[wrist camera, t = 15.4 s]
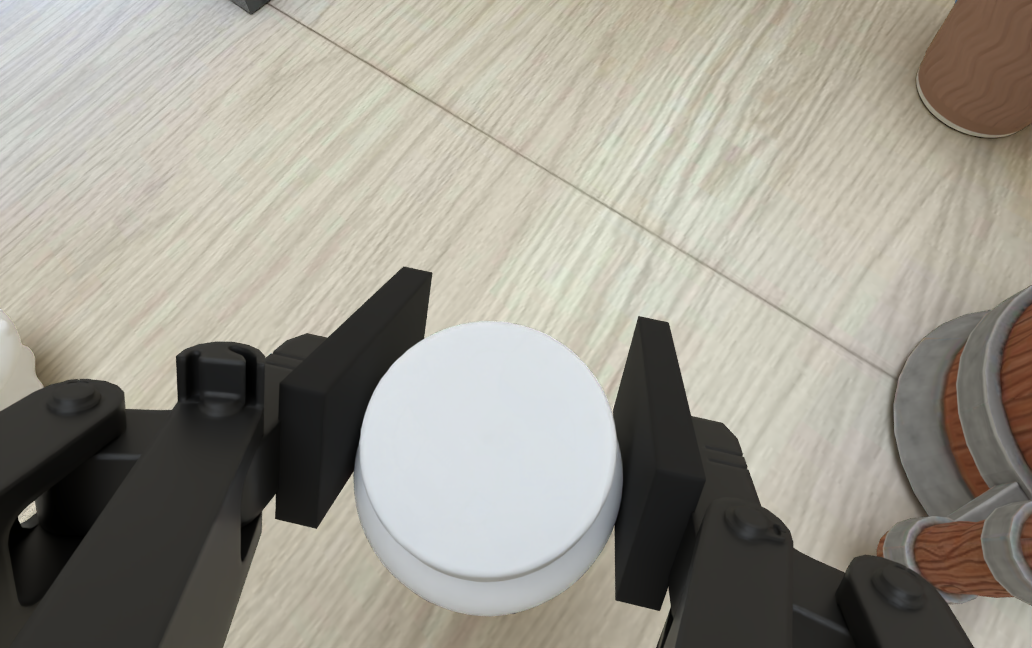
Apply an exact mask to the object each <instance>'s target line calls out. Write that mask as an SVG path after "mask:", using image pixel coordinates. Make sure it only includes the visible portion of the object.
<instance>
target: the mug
mask: <svg viewBox="0 0 1032 648" xmlns="http://www.w3.org/2000/svg"><path fill="white" fill-rule="evenodd" d="M894 433H895V437H896V441H897V446H898V450H899V455H900V459H901V463H902V465H903V468H904V470H905V472H906V475H907V477H908V480H909V482H910V484H911V487H912V489H913V491H914V493H915V495H916V497H917V498H918V500H919V501H920V503H921V505H922V506H923V508H924V509H925V511H926V512H927V514H928V516H929V517H921V518H913V519H908V520H905V521H902V522H899V523H896V524H895V525H894V526H893V528H892V529H891V530H890V531H888V532H886V533H885V535H884V536H883V537H882V538H881V539H880V541H879V544H878V547H877V556H879V557H883V558H886V559H889V560H892V561H894V562H898V563H900V564H902V565H904V566H907V568H910V569H912V570H913V571H915V572H916V573H918V574H919V575H920V576H921V577H923V578H924V579H925V580H926V581H928V582H929V583H930V584H931V585H933V586H934V587H935V588H936V590H937V591H938V592H939V593H940V595H941V596H942V597H943V598H944V599H945V601H946V602H947V604H962V603H964V602H967V601H970V600H973V599H976V598H977V596H985V597H994V598H999V597H1016V598H1018V599H1020V600H1022V601H1024V602H1026V603H1028V604H1030V605H1031V606H1032V285H1031V286H1029V287H1027V288H1026V289H1024V290H1022V291H1020V292H1018V293H1017V294H1015V295H1013V296H1011V297H1010V298H1008V299H1006V300H1004V301H1003V302H1002V303H1000V304H999V305H998V306H996V307H995V308H994V309H992V310H988V311H982V312H977V313H971V314H966V315H963V316H961V317H958V318H956V319H953V320H951V321H949V322H946V323H944V324H942V325H941V326H939V327H938V328H937V329H935V330H934V331H932V332H931V333H930V334H928V335H927V336H926V337H924V338H923V339H922V341H921V342H920V343H919V344H918V346H917V347H916V348H915V349H914V350H913V352H912V353H911V354H910V355H909V357H908V359H907V361H906V363H905V366H904V368H903V370H902V372H901V374H900V376H899V379H898V384H897V389H896V394H895V400H894Z"/></svg>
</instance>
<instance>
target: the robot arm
mask: <svg viewBox="0 0 1032 648" xmlns="http://www.w3.org/2000/svg"><path fill="white" fill-rule="evenodd" d="M431 279H432V272H427V271H422V270H418V269H413V268H408V267H402V268H401V269H400V270H399V271H398V272H397V273H396V274H395V275H394V276H393V277H392V278H391V279H390V280H389V281H388V282H387V283H385V284H384V285H383V286H382V287H381V288H380V289H379V290H378V291H377V292H376V293H375V294H374V295H373V296H372V297H371V298H369V299H368V300H367V301H366V302H365V303H364V304H363V305H362V306H361V307H360V308H359V309H358V310H357V311H356V312H355V313H354V314H352V315H351V316H350V317H349V318H348V319H347V320H346V321H345V322H344V323H343V324H342V325H341V326H340V327H339V328H338V329H336V330H335V331H334V332H333V333H332V334H331V335H330V336H329V337H328V338H326V337H322V336H317V335H313V334H308V333H306V334H304V335H301V336H298V337H295V338H292V339H290V340H287V341H285V342H284V343H283V344H282V345H281V346H279V347H278V348H277V349H276V350H275V351H273V354H270V355H269V356H267V357H266V358H265V356H264V355H263V353H262V352H261V351H260V350H259V349H256V348H254V347H252V346H249V345H246V344H241V343H236V342H211V343H204V344H198V345H195V346H193V347H190V348H187V349H185V350H183V351H182V352H181V353H179V354H178V355H177V356H176V367H177V391H178V402H177V404H176V405H175V406H174V408H173V409H172V410H138V409H125V397H124V392H123V391H122V390H121V389H120V388H119V387H118V386H117V385H115V384H112V383H109V382H106V381H100V380H91V379H80V380H78V379H74V380H67V381H64V382H61V383H56V384H52V385H49V386H46V387H44V388H42V389H39V390H37V391H35V392H33V393H31V394H29V395H28V396H26V397H24V398H22V399H21V400H19V401H17V402H15V403H14V404H12V405H10V406H9V407H7V408H5V409H3V410H2V411H0V648H223V646H224V643H225V640H226V637H227V634H228V631H229V628H230V625H231V622H232V619H233V616H234V613H235V610H236V607H237V604H238V601H239V598H240V595H241V592H242V589H243V586H244V583H245V580H246V577H247V574H248V571H249V568H250V565H251V562H252V559H253V556H254V553H255V550H256V547H257V544H258V542H259V539H260V536H261V533H262V510H263V509H264V508H265V507H266V505H267V504H268V503H269V502H270V500H271V499H272V498H273V497H274V495H275V494H276V511H275V519H278V520H282V521H286V522H291V523H295V524H299V525H303V526H307V527H311V528H316V529H317V527H318V526H319V524H320V523H321V521H322V520H323V518H324V517H325V515H326V513H327V512H328V510H329V509H330V507H331V506H332V504H333V503H334V501H335V499H336V498H337V496H338V495H339V493H340V492H341V490H342V489H343V487H344V485H345V484H346V482H347V481H348V479H349V478H350V476H351V474H352V473H353V471H354V467H355V458H356V452H357V448H358V444H359V440H360V436H361V428H362V424H363V420H364V416H365V413H366V410H367V406H368V404H369V401H370V399H371V397H372V395H373V392H374V390H375V389H376V387H377V385H378V383H379V382H380V380H381V378H382V377H383V376H384V375H385V374H386V372H387V371H388V370H389V368H390V367H391V366H392V364H393V363H394V362H395V361H396V360H397V359H398V358H400V357H401V356H402V355H403V354H404V353H405V352H406V351H407V350H408V349H410V348H411V347H413V346H414V345H416V344H417V343H418V342H420V341H422V340H423V339H424V334H425V326H426V319H427V311H428V303H429V295H430V287H431ZM613 419H614V423H615V429H616V436H617V439H618V443H619V447H620V452H621V457H622V464H623V488H622V498H621V503H620V508H619V512H618V515H617V519H616V522H615V600H616V601H620V602H625V603H629V604H633V605H637V606H641V607H645V608H650V609H654V610H658V611H660V609H661V606H662V603H663V601H664V598H665V595H666V592H667V589H668V586H669V595H670V603H671V608H670V611H669V614H668V617H667V619H666V622H665V625H664V628H663V630H662V633H661V636H660V639H659V641H658V644H657V647H656V648H974V647H973V645H972V643H971V642H970V640H969V638H968V637H967V635H966V633H965V632H964V630H963V628H962V627H961V625H960V624H959V622H958V620H957V619H956V617H955V615H954V614H953V612H952V610H951V609H950V607H949V605H948V604H947V602H946V601H945V599H944V598H943V597H942V596H941V595H940V593H939V592H938V591H937V590H936V588H935V587H934V586H933V585H931V584H930V583H929V582H928V581H926V580H925V579H924V578H923V577H921V576H920V575H919V574H918V573H916V572H915V571H913V570H912V569H910V568H907V566H904V565H902V564H900V563H898V562H894V561H892V560H889V559H886V558H883V557H879V556H871V555H863V556H859V557H855V558H854V559H853V560H852V562H851V563H850V565H849V566H848V568H847V570H846V572H845V573H844V572H842V571H840V570H838V569H835V568H833V567H831V566H829V565H826V564H824V563H822V562H819V561H817V560H815V559H813V558H811V557H809V556H807V555H805V554H803V553H801V552H799V551H798V550H796V549H795V548H793V540H792V536H791V533H790V531H789V529H788V528H787V527H786V526H785V524H784V523H783V522H782V521H781V520H780V519H779V518H778V517H776V516H775V515H774V514H772V513H771V512H770V511H769V510H767V509H765V508H763V507H761V504H760V501H759V498H758V496H757V493H756V490H755V487H754V484H753V481H752V479H751V476H750V473H749V470H747V464H746V461H745V459H744V457H742V456H743V453H742V450H741V447H740V444H739V442H738V439H737V438H736V437H735V435H734V434H733V433H732V432H731V431H730V430H729V429H728V428H727V427H726V426H725V425H724V424H723V423H721V422H716V421H711V420H707V419H702V418H698V417H693V416H691V414H690V409H689V405H688V401H687V397H686V393H685V389H684V384H683V380H682V376H681V372H680V368H679V364H678V359H677V355H676V351H675V347H674V343H673V338H672V334H671V330H670V326H669V323H668V322H664V321H659V320H654V319H650V318H645V317H640V316H638V320H637V324H636V327H635V331H634V335H633V338H632V342H631V346H630V350H629V353H628V357H627V361H626V364H625V368H624V372H623V376H622V379H621V383H620V387H619V390H618V394H617V398H616V402H615V405H614V409H613ZM33 501H35V504H36V510H37V513H36V514H34V515H33V516H32V517H31V518H29V519H28V520H27V521H25V522H23V523H21V524H20V522H19V521H18V516H19V514H20V513H21V512H22V511H23V510H24V509H25V508H26V507H27V506H28V505H29V504H31V503H32V502H33Z"/></svg>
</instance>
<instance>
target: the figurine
mask: <svg viewBox="0 0 1032 648" xmlns="http://www.w3.org/2000/svg"><path fill="white" fill-rule="evenodd" d="M42 388H44V386H43V384H42V383H41V382H40V380H39V379H38V378H37V376H36V372H35V356H34V354H33V352H32V350H31V349H30V348H28V347H27V346H25V345H22V344H21V339H20V336H19V333H18V331H17V328H16V326H15V324H14V323H13V321H12V319H11V318H10V317H9V316H8V315H7V314H6V313H5V312H4V311H3V310H2V309H1V308H0V411H2V410H3V409H5V408H7V407H9V406H10V405H12V404H14V403H15V402H17V401H19V400H21V399H22V398H24V397H26V396H28V395H29V394H31V393H33V392H35V391H37V390H39V389H42Z"/></svg>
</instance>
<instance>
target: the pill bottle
mask: <svg viewBox="0 0 1032 648" xmlns="http://www.w3.org/2000/svg"><path fill="white" fill-rule="evenodd" d="M622 488H623V464H622V457H621V452H620V447H619V443H618V439H617V436H616V429H615V423H614V419H613V415H612V411H611V408H610V405H609V402H608V400H607V397H606V395H605V393H604V391H603V389H602V387H601V385H600V383H599V382H598V380H597V379H596V377H595V376H594V374H593V373H592V371H591V370H590V369H589V368H588V366H587V365H586V364H585V363H584V362H583V361H582V360H581V359H580V358H579V357H578V356H577V355H576V354H575V353H574V352H573V351H572V350H570V349H569V348H568V347H567V346H565V345H564V344H562V343H561V342H559V341H558V340H556V339H554V338H553V337H551V336H549V335H547V334H545V333H543V332H541V331H538V330H536V329H533V328H530V327H527V326H523V325H520V324H515V323H509V322H501V321H478V322H471V323H464V324H459V325H456V326H453V327H449V328H446V329H444V330H441V331H438V332H436V333H434V334H432V335H430V336H428V337H426V338H425V339H423V340H422V341H420V342H418V343H417V344H416V345H414V346H413V347H411V348H410V349H408V350H407V351H406V352H405V353H404V354H403V355H402V356H401V357H400V358H398V359H397V360H396V361H395V362H394V363H393V364H392V366H391V367H390V368H389V370H388V371H387V372H386V374H385V375H384V376H383V377H382V378H381V380H380V382H379V383H378V385H377V387H376V389H375V390H374V392H373V395H372V397H371V399H370V401H369V404H368V406H367V410H366V413H365V416H364V420H363V424H362V428H361V436H360V440H359V444H358V448H357V452H356V458H355V467H354V494H355V501H356V507H357V511H358V515H359V519H360V522H361V525H362V528H363V530H364V533H365V535H366V538H367V539H368V541H369V543H370V545H371V547H372V549H373V551H374V552H375V554H376V555H377V556H378V558H379V559H380V561H381V562H382V564H383V565H384V566H385V567H386V568H387V570H388V571H389V572H390V573H391V574H392V575H393V576H394V577H395V578H397V579H398V580H399V581H400V582H401V583H402V584H403V585H405V586H406V587H407V588H409V589H410V590H411V591H413V592H414V593H415V594H417V595H418V596H420V597H422V598H423V599H425V600H426V601H428V602H431V603H433V604H435V605H438V606H440V607H442V608H445V609H448V610H451V611H455V612H459V613H463V614H468V615H475V616H500V615H507V614H515V613H518V612H521V611H525V610H528V609H530V608H533V607H536V606H538V605H540V604H542V603H545V602H547V601H549V600H551V599H552V598H554V597H556V596H557V595H559V594H561V593H562V592H564V591H565V590H567V589H568V588H569V587H570V586H571V585H573V584H574V583H575V582H576V581H577V580H578V579H579V578H580V577H582V576H583V574H584V573H585V572H586V571H587V570H588V569H589V568H590V566H591V565H592V564H593V563H594V562H595V560H596V559H597V557H598V556H599V555H600V553H601V552H602V550H603V548H604V546H605V545H606V543H607V541H608V539H609V537H610V535H611V533H612V530H613V527H614V525H615V522H616V519H617V515H618V512H619V508H620V503H621V498H622Z"/></svg>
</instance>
